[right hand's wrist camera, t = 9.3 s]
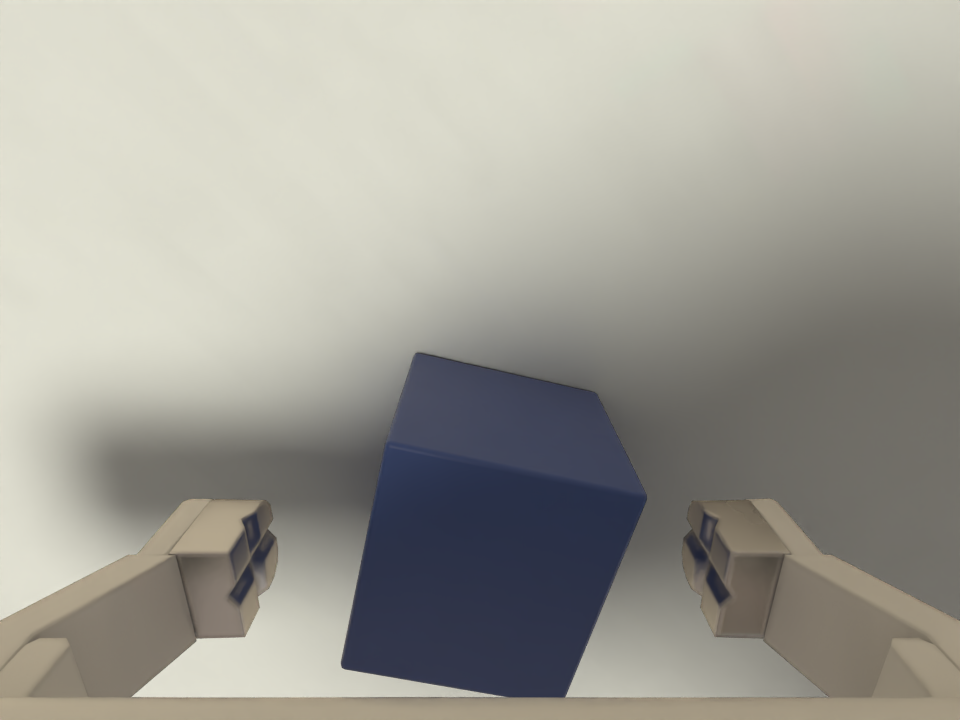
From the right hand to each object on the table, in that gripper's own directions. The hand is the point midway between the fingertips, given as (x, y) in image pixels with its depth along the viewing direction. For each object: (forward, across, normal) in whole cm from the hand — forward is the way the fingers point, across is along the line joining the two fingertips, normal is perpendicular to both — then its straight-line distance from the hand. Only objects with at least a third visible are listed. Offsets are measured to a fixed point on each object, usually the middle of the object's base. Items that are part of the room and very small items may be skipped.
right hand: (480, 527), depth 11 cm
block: (+2, 0, 0) cm, 2 cm away
